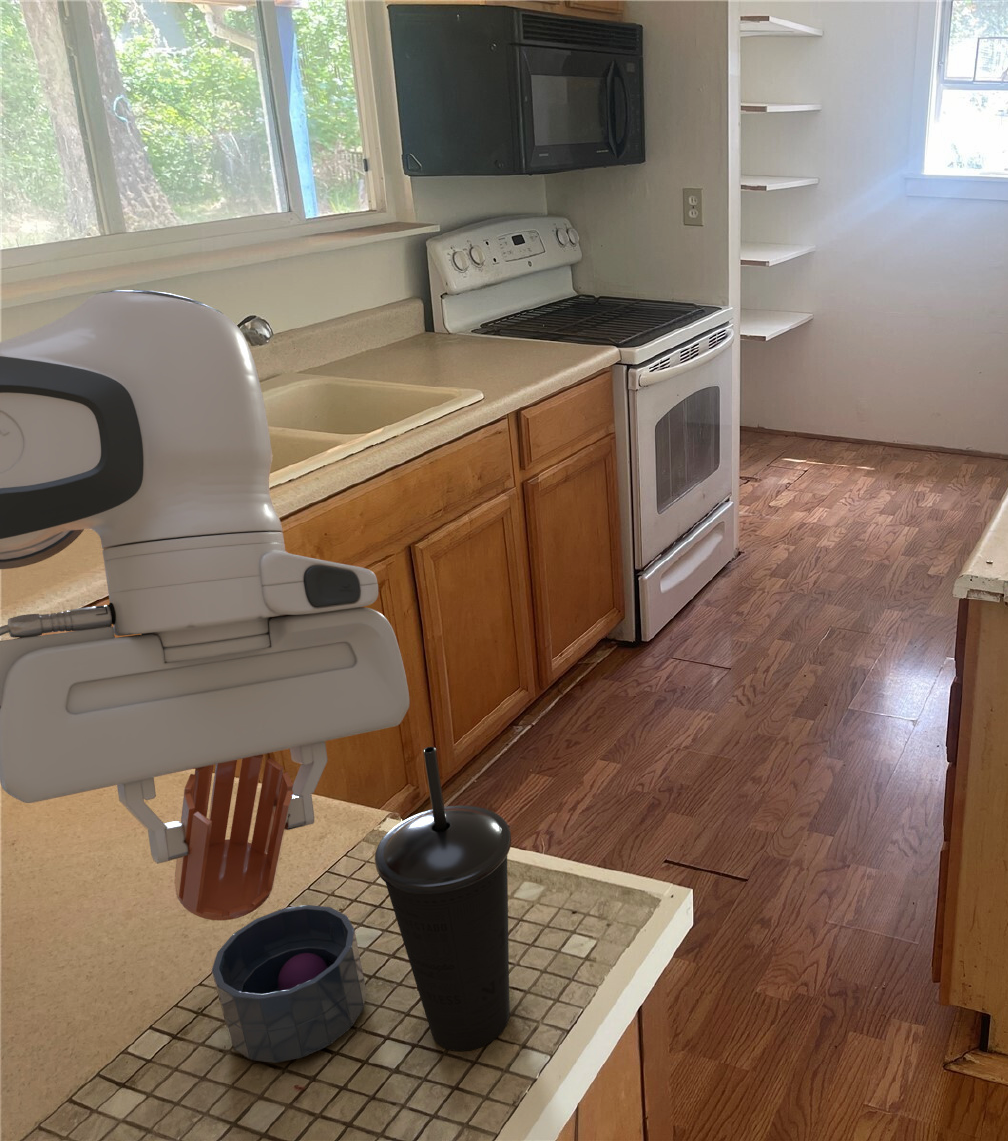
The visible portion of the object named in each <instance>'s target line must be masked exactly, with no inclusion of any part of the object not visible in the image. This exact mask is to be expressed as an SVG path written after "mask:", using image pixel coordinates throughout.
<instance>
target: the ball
mask: <svg viewBox="0 0 1008 1141" xmlns="http://www.w3.org/2000/svg"><path fill="white" fill-rule="evenodd" d="M327 968H328V967H327V964H326V963H325V961H324V960H323V959H322V958H321V957H319V956H318V955H315V954H312V953H302V954H298V955H296V956H294V957H292V958H291V959H289V960H288V961H287V962H286V963H285V964H284V965H283V967H282V969H281V970H280V973H279V976H278V987H279V990H280V991H283V990H289V989H291V988H293V987H295V986H298V985H300V984H302V983H305V982H307V981H309V980H312V979H314V978H315V977H316V976H318V975H319V974H320V973H322V972H323V971H324V970H326V969H327Z"/></svg>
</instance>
